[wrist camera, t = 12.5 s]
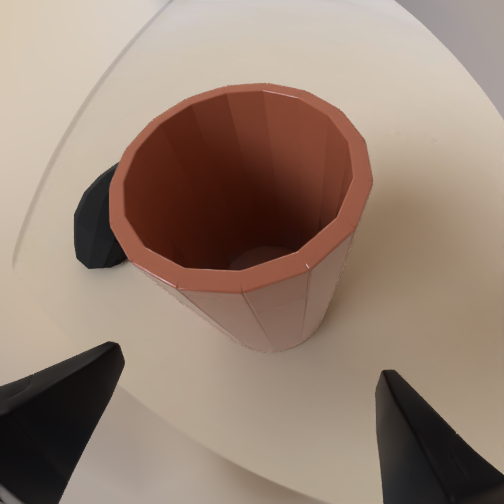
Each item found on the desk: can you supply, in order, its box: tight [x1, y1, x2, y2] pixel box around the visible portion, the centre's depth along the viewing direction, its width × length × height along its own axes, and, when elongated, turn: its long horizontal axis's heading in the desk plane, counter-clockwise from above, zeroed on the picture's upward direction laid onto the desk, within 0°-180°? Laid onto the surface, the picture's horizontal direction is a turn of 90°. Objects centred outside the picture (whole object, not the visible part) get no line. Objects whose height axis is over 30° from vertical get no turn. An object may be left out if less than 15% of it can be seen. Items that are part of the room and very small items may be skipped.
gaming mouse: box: [74, 162, 127, 269], centre depth 21 cm, size 6×15×4 cm, turn 149°
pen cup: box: [109, 83, 373, 352], centre depth 13 cm, size 7×7×12 cm
